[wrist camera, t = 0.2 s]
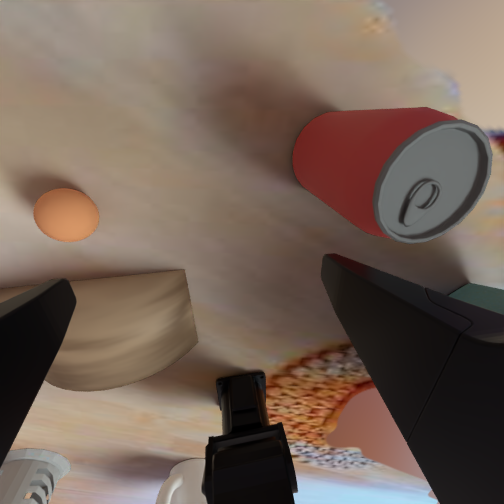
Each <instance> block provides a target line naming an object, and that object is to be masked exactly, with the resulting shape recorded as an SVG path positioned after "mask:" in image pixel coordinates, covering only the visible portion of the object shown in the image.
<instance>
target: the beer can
mask: <svg viewBox="0 0 504 504" xmlns="http://www.w3.org/2000/svg"><path fill="white" fill-rule="evenodd" d="M492 155H493V154H492V150H491V147H490V143H489V139H488V137H487V136H486V135H485V134H484V132H483V131H482V130H481V129H480V128H479V127H478V126H477V125H475V124H472V123H469V122H466V121H464V120H458V119H457V118H455V117H454V116H451V115H448V114H445V113H442V112H440V111H437V110H434V109H431V108H428V107H418V108H397V109H376V110H354V111H336V112H327V113H324V114H322V115H320V116H318V117H315V118H314V119H313V120H312V121H311V122H310V123H308V124H307V125H306V126H305V127H304V129H303V130H302V132H301V133H300V135H299V136H298V138H297V140H296V143H295V147H294V150H293V169H294V172H295V175H296V178H297V179H298V181H299V182H300V183H301V185H302V186H303V187H304V188H306V189H307V190H308V191H310V192H311V193H312V194H314V195H315V196H316V197H318V198H319V199H320V200H322V201H323V202H324V203H326V204H327V205H328V206H330V207H331V208H332V209H334V210H335V211H336V212H338V213H339V214H340V215H342V216H343V217H344V218H346V219H347V220H348V221H350V222H351V223H352V224H354V225H355V226H357V227H358V228H360V229H361V230H363V231H365V232H366V233H369V234H372V235H375V236H380V237H385V238H391V239H393V240H395V241H397V242H402V243H408V244H413V243H421V242H427V241H429V240H432V239H434V238H436V237H439V236H441V235H443V234H445V233H446V232H448V231H449V230H451V229H452V228H453V227H455V226H456V225H458V224H459V223H460V222H461V221H462V220H463V219H464V218H465V217H466V216H467V215H468V214H469V213H470V212H471V211H472V210H473V209H474V207H475V206H476V204H477V202H478V201H479V199H480V198H481V196H482V195H483V193H484V191H485V188H486V186H487V183H488V180H489V178H490V175H491V166H492Z"/></svg>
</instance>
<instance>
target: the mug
mask: <svg viewBox="0 0 504 504" xmlns="http://www.w3.org/2000/svg"><path fill="white" fill-rule="evenodd" d="M204 468H205V459H201V458H198V459H189V460H186V461H183V462H180V463H178V464H177V465H175V466H174V467H173V468H172V469H171V471H170V474H169V478H168V479H167V480H166V481H165V482H164V483H163V485H162V486H161V488H160V491H159V494H158V497H157V500H156V504H207V501H206V497H205V496H204V495H203V494H202V491H201V485H202V479H203V474H204Z"/></svg>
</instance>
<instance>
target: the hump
mask: <svg viewBox="0 0 504 504" xmlns="http://www.w3.org/2000/svg"><path fill="white" fill-rule="evenodd" d="M70 285H71V287H72V289H73V291H74V294H75V296H76V300H77V303H76V307H75V310H74V313H73V315H72V318H71V321H70V324H69V326H68V329H67V332H66V335H65V337H64V340H63V342H62V345H61V347H60V349H59V351H58V353H57V355H56V357H55V359H54V361H53V363H52V365H51V367H50V369H49V371H48V373H47V375H46V377H45V381H47V382H48V383H50V384H51V385H53V386H56V387H59V388H62V389H66V390H72V391H88V392H90V391H101V390H108V389H112V388H117V387H122V386H125V385H128V384H131V383H135V382H137V381H140V380H142V379H145V378H147V377H149V376H152V375H153V374H155V373H157V372H159V371H161V370H163V369H165V368H166V367H168V366H170V365H171V364H173V363H174V362H176V361H177V360H179V359H180V358H181V357H182V356H184V355H185V354H186V353H188V352H189V351H190V350H191V349H192V348H193V347H194V346H195V345H196V344H197V343H198V338H197V332H196V327H195V322H194V316H193V311H192V306H191V300H190V295H189V289H188V284H187V279H186V273H185V270H176V271H167V272H157V273H147V274H138V275H128V276H118V277H108V278H99V279H89V280H79V281H70ZM36 286H38V285H31V286H21V287H12V288H2V289H0V303H1V302H4V301H6V300H8V299H10V298H12V297H14V296H17V295H19V294H21V293H23V292H25V291H27V290H30V289H32V288H34V287H36Z"/></svg>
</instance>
